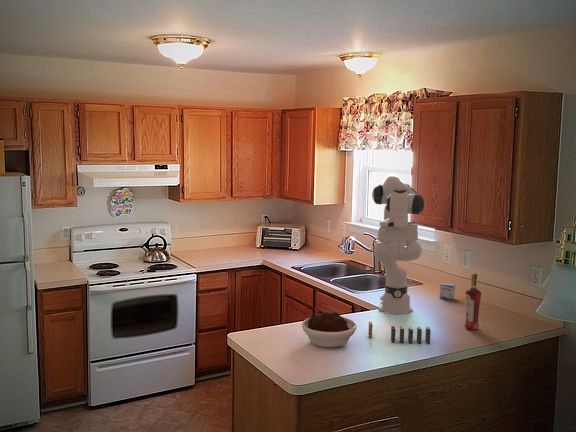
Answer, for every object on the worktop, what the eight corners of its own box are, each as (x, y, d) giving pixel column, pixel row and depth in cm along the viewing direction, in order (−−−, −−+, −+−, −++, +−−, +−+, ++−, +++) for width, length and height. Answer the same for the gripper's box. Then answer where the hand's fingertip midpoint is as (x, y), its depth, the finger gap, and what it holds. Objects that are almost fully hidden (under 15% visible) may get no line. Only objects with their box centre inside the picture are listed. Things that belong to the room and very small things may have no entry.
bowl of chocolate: (322, 330, 290) (323, 301, 288) (366, 342, 274) (367, 311, 272) (290, 344, 271) (291, 312, 269) (335, 357, 255) (336, 324, 253)
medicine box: (439, 298, 350) (440, 284, 349) (441, 296, 354) (441, 282, 353) (452, 300, 346) (453, 285, 345) (454, 298, 350) (455, 284, 349)
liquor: (460, 327, 298) (463, 272, 294) (472, 325, 300) (475, 271, 296) (470, 331, 291) (473, 276, 287) (482, 330, 293) (485, 274, 290)
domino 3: (399, 340, 277) (399, 326, 276) (402, 340, 277) (402, 326, 276) (400, 343, 273) (401, 329, 272) (403, 343, 273) (404, 329, 272)
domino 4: (408, 340, 277) (408, 326, 276) (411, 340, 277) (411, 326, 276) (409, 343, 273) (410, 329, 272) (412, 344, 273) (413, 329, 272)
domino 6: (425, 341, 277) (425, 326, 276) (428, 341, 277) (428, 326, 276) (426, 344, 273) (427, 329, 272) (430, 344, 273) (430, 329, 272)
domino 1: (368, 335, 284) (368, 321, 283) (371, 335, 284) (371, 321, 283) (369, 338, 280) (369, 324, 279) (372, 338, 280) (372, 324, 279)
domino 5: (416, 340, 277) (417, 326, 276) (419, 341, 277) (420, 326, 276) (418, 344, 273) (418, 329, 272) (421, 344, 273) (421, 329, 272)
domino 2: (390, 340, 278) (391, 326, 277) (393, 340, 278) (394, 326, 277) (392, 343, 273) (392, 328, 272) (395, 343, 273) (395, 329, 272)
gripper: (414, 220, 290) (413, 248, 292) (376, 222, 284) (375, 250, 285) (421, 222, 284) (419, 250, 286) (382, 224, 278) (382, 252, 279)
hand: (397, 250), depth 285 cm, fingers open, 8 cm apart
